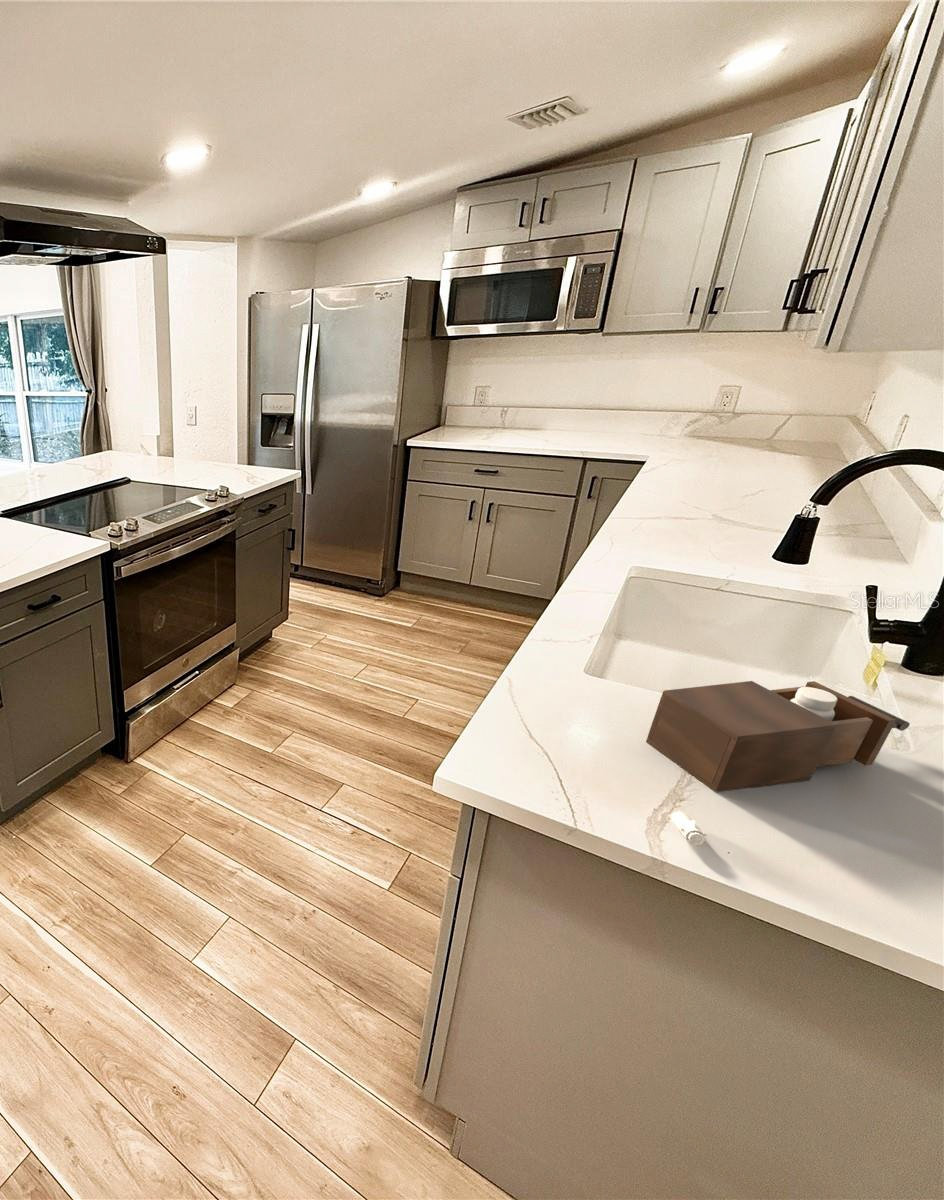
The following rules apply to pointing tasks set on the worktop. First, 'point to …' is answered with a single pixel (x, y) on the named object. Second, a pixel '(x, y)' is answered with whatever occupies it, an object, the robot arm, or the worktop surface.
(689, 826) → the small white plastic part
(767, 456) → the worktop surface
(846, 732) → the drawer
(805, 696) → the pill bottle
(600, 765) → the worktop surface
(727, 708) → the cabinet
